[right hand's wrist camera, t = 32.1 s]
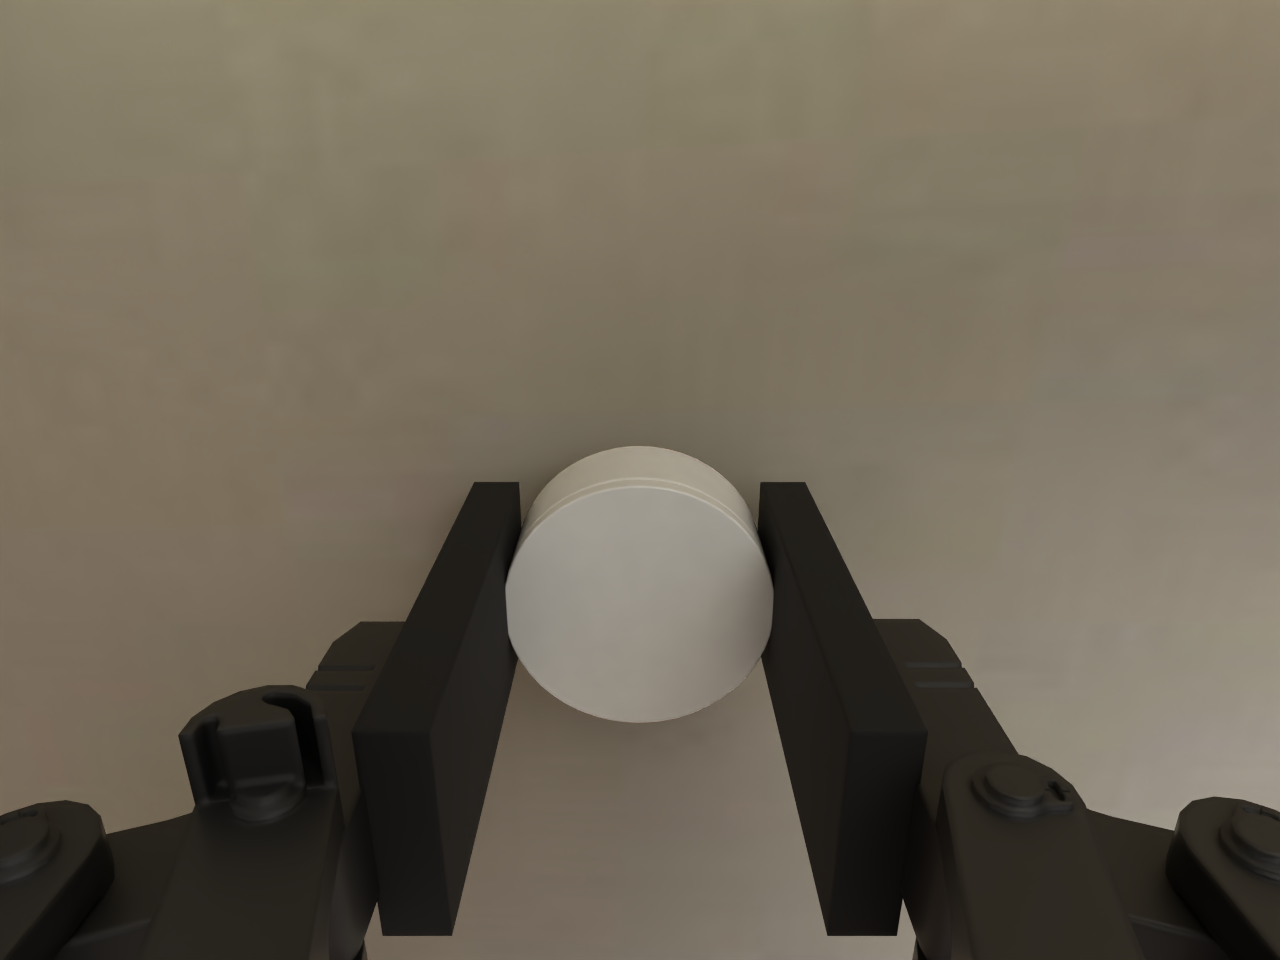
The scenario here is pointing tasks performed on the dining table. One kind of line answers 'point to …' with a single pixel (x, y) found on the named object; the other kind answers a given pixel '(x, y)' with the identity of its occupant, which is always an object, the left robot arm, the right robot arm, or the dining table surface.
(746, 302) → the dining table surface
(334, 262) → the dining table surface
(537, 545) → the cap
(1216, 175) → the dining table surface
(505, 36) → the dining table surface
